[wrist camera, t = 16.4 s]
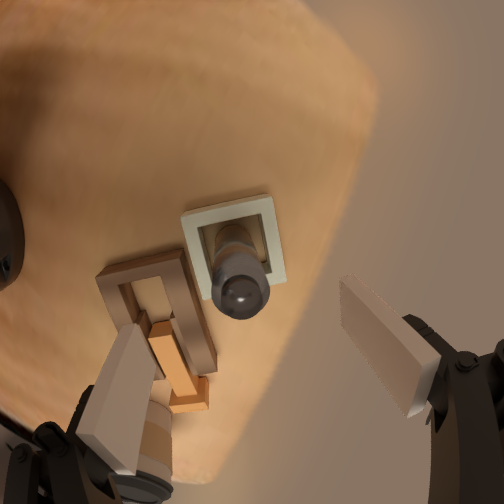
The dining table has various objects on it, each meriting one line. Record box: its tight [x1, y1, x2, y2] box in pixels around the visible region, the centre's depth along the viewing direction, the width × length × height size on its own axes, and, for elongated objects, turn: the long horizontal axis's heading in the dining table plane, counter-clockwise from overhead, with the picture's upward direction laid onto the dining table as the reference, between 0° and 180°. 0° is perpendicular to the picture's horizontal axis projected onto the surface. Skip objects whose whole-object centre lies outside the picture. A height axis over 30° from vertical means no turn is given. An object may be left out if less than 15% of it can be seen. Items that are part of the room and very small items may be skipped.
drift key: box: [148, 321, 209, 413], centre depth 28 cm, size 10×4×4 cm, turn 11°
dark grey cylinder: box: [211, 225, 270, 320], centre depth 22 cm, size 4×4×12 cm
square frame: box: [180, 193, 287, 300], centre depth 26 cm, size 8×8×3 cm
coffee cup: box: [109, 400, 173, 504], centre depth 27 cm, size 9×9×15 cm
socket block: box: [95, 248, 217, 381], centre depth 27 cm, size 14×9×3 cm, turn 11°
